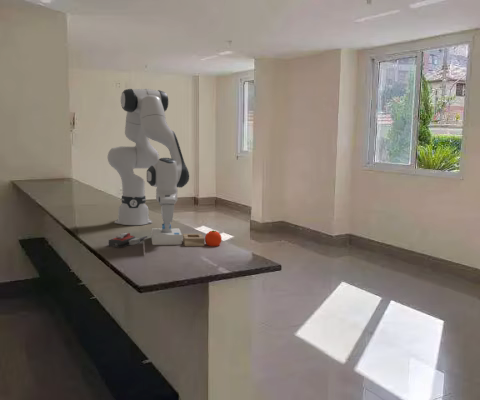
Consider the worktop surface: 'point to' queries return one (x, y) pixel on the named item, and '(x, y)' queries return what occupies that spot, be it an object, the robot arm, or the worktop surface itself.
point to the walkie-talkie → (124, 240)
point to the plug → (164, 229)
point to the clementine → (213, 238)
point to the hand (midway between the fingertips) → (166, 229)
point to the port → (166, 237)
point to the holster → (193, 239)
